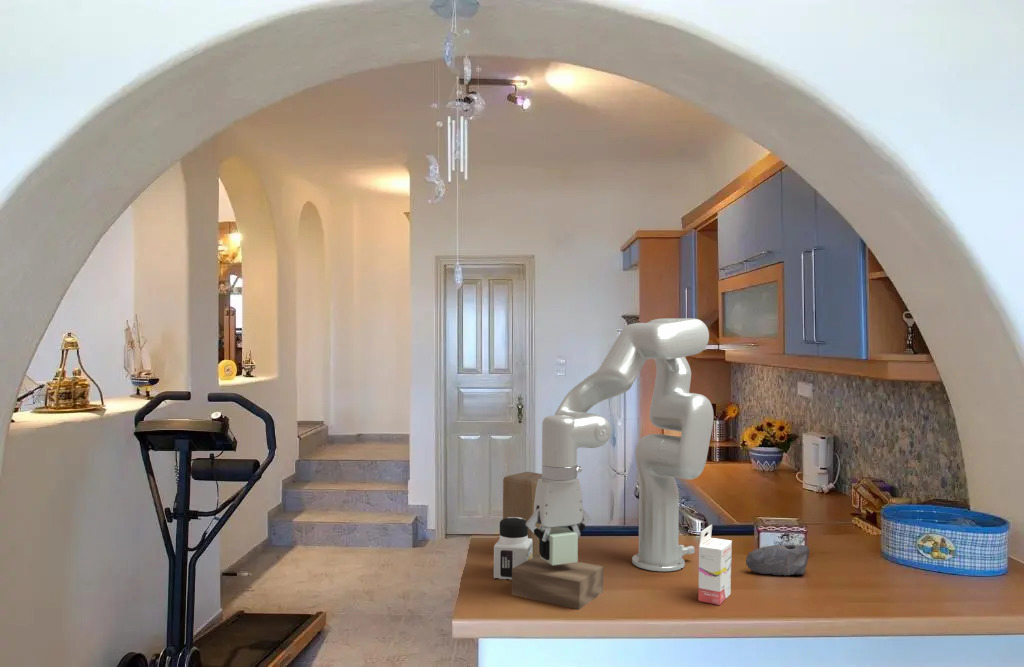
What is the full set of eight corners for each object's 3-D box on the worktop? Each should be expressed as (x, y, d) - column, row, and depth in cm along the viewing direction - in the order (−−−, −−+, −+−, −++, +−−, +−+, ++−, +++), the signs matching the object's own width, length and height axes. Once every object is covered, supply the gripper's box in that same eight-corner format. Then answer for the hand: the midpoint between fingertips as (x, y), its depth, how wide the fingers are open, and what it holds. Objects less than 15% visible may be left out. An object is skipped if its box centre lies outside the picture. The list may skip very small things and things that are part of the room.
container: (526, 581, 172) (527, 524, 171) (493, 579, 173) (493, 522, 173) (532, 570, 179) (533, 516, 179) (500, 568, 181) (501, 514, 181)
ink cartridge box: (721, 606, 157) (721, 535, 157) (697, 601, 160) (698, 531, 160) (732, 593, 165) (732, 526, 165) (709, 589, 167) (710, 523, 167)
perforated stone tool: (747, 576, 176) (748, 547, 176) (743, 569, 182) (743, 540, 182) (814, 579, 175) (814, 549, 175) (807, 572, 180) (808, 542, 180)
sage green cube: (564, 554, 168) (564, 527, 168) (577, 562, 162) (577, 534, 162) (540, 557, 165) (540, 529, 165) (552, 565, 160) (552, 537, 160)
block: (500, 555, 191) (501, 475, 191) (526, 546, 199) (526, 470, 199) (531, 563, 185) (532, 481, 185) (556, 554, 193) (557, 475, 192)
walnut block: (538, 580, 173) (538, 554, 173) (603, 593, 165) (603, 566, 165) (511, 596, 163) (512, 568, 163) (579, 611, 155) (579, 582, 155)
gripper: (585, 467, 171) (585, 547, 171) (515, 472, 164) (515, 556, 164) (602, 473, 164) (602, 556, 164) (530, 479, 157) (529, 566, 157)
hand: (558, 555), depth 164 cm, fingers closed on sage green cube, 5 cm apart
